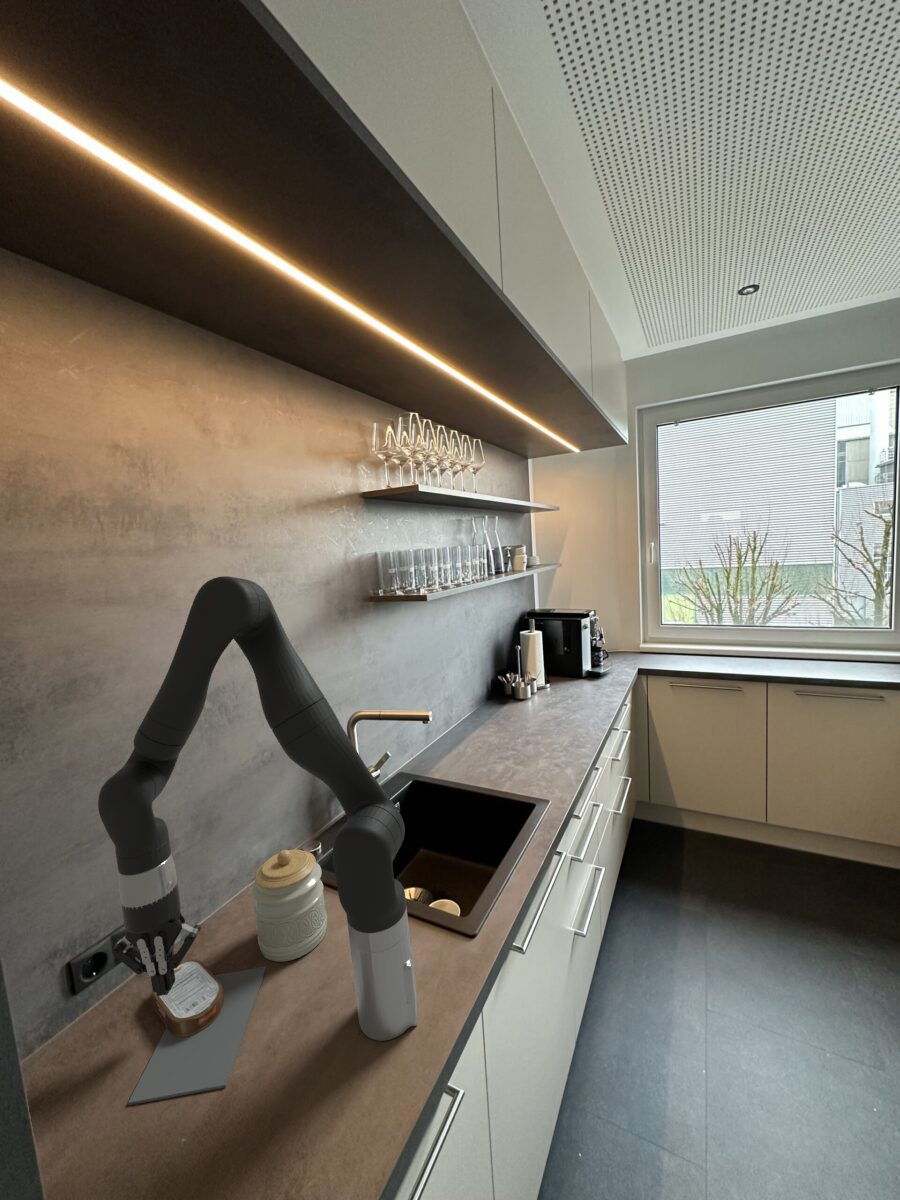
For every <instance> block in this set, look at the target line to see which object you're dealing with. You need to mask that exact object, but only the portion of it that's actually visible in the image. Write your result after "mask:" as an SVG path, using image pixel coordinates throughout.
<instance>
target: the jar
mask: <svg viewBox="0 0 900 1200" xmlns="http://www.w3.org/2000/svg"><path fill="white" fill-rule="evenodd" d="M321 877H322V868H321V865H320V864H319V863H318V862H317V859H316V857H315V856H314V854H313V853H311V852H309V851H306V850H301V849H283V850H280V852H278V853H276V854H274V855H273V856H271V857H269V858H268V859H267V860H266V861H264V862H263V863H262V864H261V865H260V866H259V867H258V869H257V870H256V872H255V875H254V882H253V885H252V887H251V895H252V898H253V899H254V900H255V901H254V904H253V912H254V914H255V920H256V927H257V928H256V929H257V943H258V947H259V949H260V951H261V953H262V955H263V957H264V958H265V959H267V960H270V961H274V962H289V961H293V960H296V959H298V958H301V957H303V956H305V955H307V954H308V953H310V952H311V951H312V950H314V949H315V948H316V947H317V946H318V945H319V944H320V943H321V942H322V940H323V939H324V937H325V935H326V932H327V926H328V913H327V910H326V905H325V896H324V883H323V881H322V880H321Z"/></svg>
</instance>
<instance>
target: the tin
mask: <svg viewBox="0 0 900 1200" xmlns="http://www.w3.org/2000/svg"><path fill="white" fill-rule="evenodd" d="M174 973H175V983H174V985H173V986H172V988H171V990H170V991H169V993H168V994H167V995H162V996H157V995H156V993H154V991H153V989H152V990H151V997H152V1007H153V1010H154V1011H155V1013H156V1014H157V1016H158V1017H159V1018H160V1020H161V1021H162V1022H163V1024H164V1026H165V1028H167V1029H168V1030H169V1032H170V1033H171V1034H172V1035H174V1036H177V1037H186V1036H190V1035H193V1034H196V1033H198V1032H200V1031H202V1030H203V1029H205V1028H206V1027H208V1026H209V1025H210V1024H211V1023H212V1022H213V1021H214V1020H215V1019H216V1018H217V1017H218V1016H219V1014H220V1013H221V1011H222V1009H223V1007H224V1003H225V997H224V994H223V988H222V984H221V983H220V981H219V980H218V979H217V978H216V977H215V976H214V975H215V974H213V973H212V972H211V970H210V969H209V968H208V967H207V966H206V965H205V964H204V963H203V962H202V961H201V960H198V959H188V960H184V961H181V962H180V964H179V966H178V967H177V968H175V969H174Z"/></svg>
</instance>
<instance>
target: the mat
mask: <svg viewBox="0 0 900 1200" xmlns="http://www.w3.org/2000/svg"><path fill="white" fill-rule="evenodd" d="M266 971H267V967H266V966H264V967H263V966H262V967H257V968H256V967H255V968H250V969H245V970H243V969H242V970H237V971H233V972H226V973H220V974H213V975H214V976H215V977H216V978H217V979H218V980H219V981H220V983H221V984H222V988H223V994H224V997H225V1003H224V1007H223V1009H222V1011H221V1013H220V1014H219V1016H218V1017H217V1018H216V1019H215V1020H214V1021H213V1022H212V1023H211V1024H210V1025H209V1026H208V1027H206V1028H205V1029H203V1030H202V1031H200V1032H198V1033H196V1034H193V1035H190V1036H186V1037H177V1036H174V1035H172V1034H171V1033H170V1032H169V1030H168V1029H167V1027H165V1029H164V1031H163V1034H162V1036H161V1037H160V1040H159V1041H158V1043H157V1045H156V1047H155V1049H154V1052H153V1053H152V1055H151V1057H150V1059H149V1061H148V1063H147V1065H146V1067H145V1069H144V1071H143V1073H142V1075H141V1077H140V1079H139V1081H138V1082H137V1085H136V1086H135V1088H134V1090H133V1093H132V1094H131V1097H130V1098H129V1100H128V1102H127V1103H128V1106H133V1105H137V1104H143V1103H147V1102H153V1101H159V1100H163V1099H169V1098H175V1097H180V1096H186V1095H191V1094H197V1093H202V1092H208V1091H212V1090H218V1089H219V1090H220V1089H224V1088H225V1089H226V1088H227V1086H228V1084H229V1079H230V1077H231V1075H232V1074H231V1073H232V1071H233V1068H234V1065H235V1062H236V1059H237V1056H238V1053H239V1051H240V1046H241V1044H242V1040H243V1038H244V1035H245V1032H246V1030H247V1027H248V1023H249V1020H250V1018H251V1014H252V1011H253V1009H254V1006H255V1003H256V1000H257V996H258V994H259V991H260V988H261V985H262V982H263V979H264V976H265V974H266Z"/></svg>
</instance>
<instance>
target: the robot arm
mask: <svg viewBox="0 0 900 1200" xmlns="http://www.w3.org/2000/svg"><path fill="white" fill-rule="evenodd" d="M233 640H234V641H235V643H236V644H237V646H238V647H239V648H240V650H241V651H242V653H243V654H244V656H245V657H246V659H247V661H248V663H249V665H250V666H251V668H252V669H251V670H252V671H253V673H254V677H255V680H256V685H257V690H258V694H259V695H258V696H259V700H260V703H261V708H262V712H263V715H264V717H265V720H266V722H267V724H268V726H269V728H270V730H271V731H272V733H273V735H274V737H275V739H277V742H278V743H279V745H280V747H281V748H282V750H283V752H284V753H285V755H287V756H288V758H289V759H290V760H291V761H292V762H294V763H295V764H296V765H298V766H299V767H300V768H302V769H303V770H304V771H306V772H308V773H309V774H311V775H312V776H314V777H315V778H317V779H319V780H320V781H322V783H324V784H325V785H326V786H327V787H328V788H329V789H330V790H331V791H332V793H333V794H334V796H335V798H336V799H337V801H338V803H340V805H341V807H342V810H343V811H344V814H345V816H346V817H347V820H346V821H345V823H344V824H343V825H342V827H341V828H340V830H339V831H338V832H337V834H336V836H335V838H334V840H333V845H332V861H333V862H332V863H333V869H334V876H335V882H336V888H337V893H338V900H339V902H340V905H341V907H342V909H343V910H344V913H345V915H346V921H347V929H348V930H347V931H348V937H349V939H348V941H349V947H350V948H349V949H350V955H351V965H352V973H353V981H354V982H353V983H354V992H355V1000H356V1010H357V1011H356V1012H357V1017H358V1024H359V1027H360V1029H361V1031H362V1033H363V1034H364V1035H365V1036H366V1037H368V1038H369V1039H371V1040H374V1041H389V1040H392V1039H396V1038H397V1037H399V1036H401V1035H402V1034H404V1033H405V1032H406V1031H407V1030H409V1029H410V1028H411V1027H416V1026H417V1025H418V999H417V997H418V995H417V992H418V991H417V983H416V972H415V963H414V954H413V947H412V946H413V945H412V939H411V938H410V928H409V919H408V918H409V917H408V910H407V909H408V908H407V899H406V892H405V888H404V886H403V884H402V883H401V882H400V881H399V880H397V879H395V877H394V876H395V875H394V867H393V866H394V865H393V861H394V860H395V858H396V856H397V853H398V852H399V850H400V849H401V846H402V843H403V841H404V838H405V831H406V829H405V822H404V820H403V816H402V815H401V813H400V811H399V810H398V807H397V806H396V805H395V803H394V802H393V800H392V799H391V798H390V796H389V795H388V794H387V793H386V792H385V790H384V788H383V787H382V786H381V784H379V781H378V780H377V779H376V778H375V777H374V775H373V774H372V773H371V771H370V770H369V769H368V767H367V766H366V764H365V763H364V761H363V759H362V758H361V756H360V754H359V752H358V751H357V749H356V747H355V746H354V744H353V743H352V741H351V739H350V738H349V736H348V735H347V733H346V731H345V730H344V728H343V726H342V724H341V723H340V721H339V719H338V717H337V715H336V713H335V712H334V710H333V708H332V707H331V705H330V703H329V701H328V699H327V698H326V697H325V695H324V693H323V692H322V690H321V688H320V687H319V686H318V685H317V683H316V681H315V679H314V677H313V676H312V674H311V673H310V670H308V668H307V666H306V665H305V663H304V662H303V660H302V659H301V657H300V656H299V655H298V653H297V652H296V650H295V648H294V647H293V645H292V643H291V641H290V640H289V638H288V635H287V633H286V631H285V629H284V627H283V625H282V622H281V620H280V618H279V616H278V613H277V611H276V609H275V606H274V604H273V602H272V600H271V598H270V597H269V594H268V593H267V592H266V590H265V589H264V588H263V587H262V586H261V585H259V584H258V583H256V582H254V581H252V580H249V579H245V578H240V577H236V576H230V575H229V576H227V575H226V576H225V575H224V576H221V575H220V576H217V577H213V578H211V579H209V580H207V581H206V582H205V583H204V584H202V586H201V587H200V588H199V589H198V591H197V593H196V595H195V597H194V598H193V601H192V605H191V608H190V610H189V612H188V615H187V618H186V622H185V625H184V627H183V631H182V633H181V635H180V639H179V642H178V644H177V646H176V650H175V652H174V655H173V658H172V660H171V663H170V666H169V668H168V670H167V673H166V675H165V678H164V679H163V682H162V684H161V686H160V687H159V690H158V691H157V694H156V695H155V697H154V699H153V702H152V703H151V705H150V706H149V708H148V710H147V712H146V714H145V716H144V718H143V719H142V722H141V723H140V725H139V726H138V728H137V730H136V733H135V735H134V738H133V746H134V747H133V750H132V752H131V754H130V756H129V758H128V759H127V760H126V762H125V764H124V765H123V766H122V767H121V768H120V769H119V770H118V771H117V772H116V773H114V774H113V775H112V776H111V777H109V778H108V779H107V780H106V781H105V782H104V783H103V785H102V786H101V788H100V791H99V792H98V793H99V794H98V800H97V808H98V814H99V817H100V820H101V822H102V824H103V826H104V828H105V831H106V832H107V835H108V836H109V839H110V840H111V841H112V843H113V845H114V848H115V857H116V865H117V870H118V890H119V897H120V904H121V910H122V916H123V921H124V922H123V923H124V928H125V929H126V930H125V932H124V935H122V936H121V938H120V939H119V940H118V941H117V943H116V944H115V945H114V947H113V948H112V950H111V954H112V955H113V956H114V957H116V959H118V960H120V961H121V963H123V964H124V965H125V966H126V967H128V968H129V969H130V970H131V971H133V972H134V973H135V974H136V975H142V974H143V973H146V974H147V975H148V976H149V977H150V981H151V988H152V989H153V991H154V993H156V995H157V996H162V995H167V994H168V993H169V991H170V990H171V988H172V986H173V985H174V983H175V973H174V969H175V968H177V967H178V966H179V964H180V963H181V962H183V960H184V958H185V956H186V955H187V953H188V951H189V950H190V949H191V947H192V945H193V943H194V942H195V941H196V938H197V936H198V935H199V934H200V931H201V929H202V928H201V925H200V924H195V925H194V926H190V925H189V924H187V923H186V918H185V917H184V915H183V914H182V912H181V908H182V907H181V904H182V903H181V898H180V891H179V884H178V877H177V870H176V865H175V861H174V857H173V853H172V850H171V849H172V847H171V841H170V836H169V829H168V827H167V824H166V821H165V820H163V819H162V818H161V817H158V816H155V814H154V811H153V802H154V801H155V800H156V799H157V797H158V796H159V795H160V794H161V793H162V792H163V790H164V789H165V787H166V786H167V783H168V782H169V780H170V778H171V776H172V774H173V772H174V769H175V767H176V763H177V761H178V759H179V755H180V753H181V751H182V750H183V749H184V747H185V745H186V743H187V742H188V740H189V738H190V736H191V734H192V732H193V731H194V728H195V726H196V725H197V723H198V721H199V718H200V717H201V716H202V712H203V710H204V707H205V703H206V699H207V696H208V692H209V685H210V683H211V678H212V675H213V673H214V670H215V668H216V665H217V664H218V661H219V660H220V658H221V656H222V655H223V653H224V652H225V650H226V649H227V647H228V646H229V645H230V643H231V642H232V641H233ZM179 935H180V943H181V946H180V947H179V949H177V952H176V953H175V952H174V951H175V950H174V949H175V945H176V940H177V939H178V937H179ZM139 961H140V962H139Z"/></svg>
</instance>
